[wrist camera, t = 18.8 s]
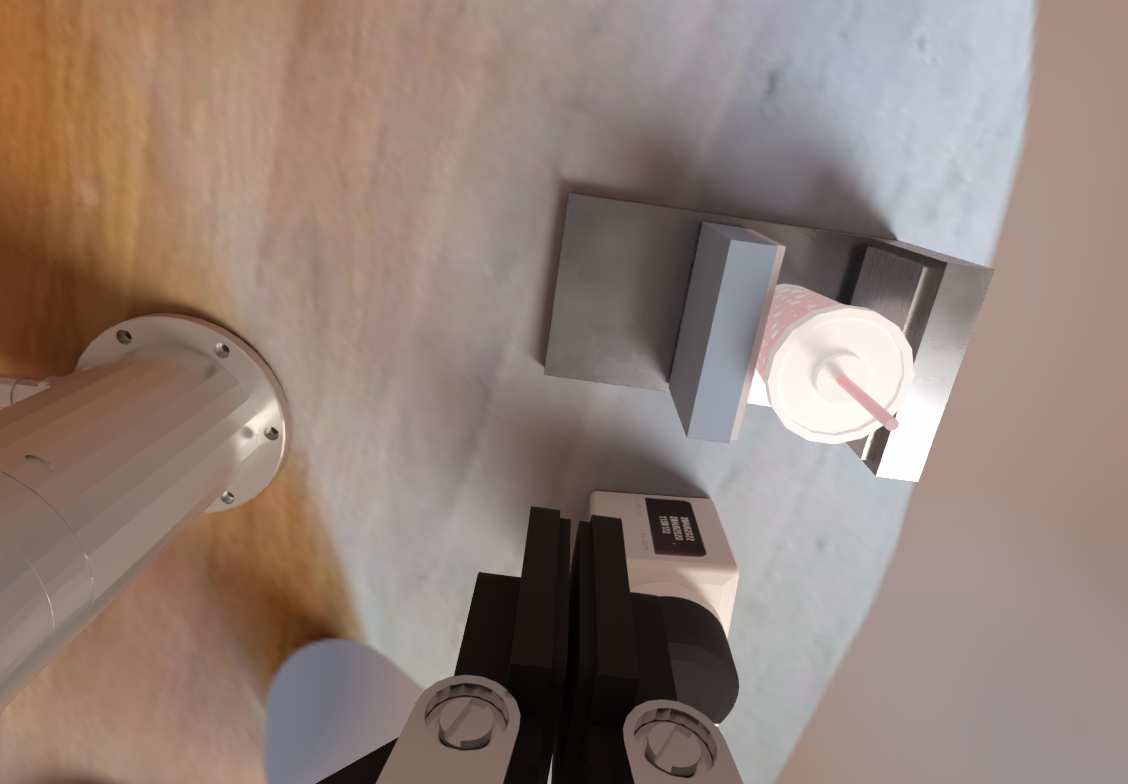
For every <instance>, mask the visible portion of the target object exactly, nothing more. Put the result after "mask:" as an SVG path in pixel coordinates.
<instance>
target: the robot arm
mask: <svg viewBox="0 0 1128 784" xmlns="http://www.w3.org/2000/svg"><path fill="white" fill-rule="evenodd" d="M226 346H227V347H228V348H229V350H228V349H227V348H226ZM0 408H2V409H1V410H0V713H1V712H2V710H3V709H4V708H5V707H6V706H7V705H8V704H9V703H10V702H11V701H12V700H13V699H14V698H15V697H16V696H17V695H18V694H19V693H20V692H21V691H22V690H23V689H24V688H25V687H26V686H27V685H28V684H29V683H30V682H31V681H32V680H33V679H34V678H35V677H36V676H37V675H38V673H39V672H40V671H41V670H42V669H43V668H45V667H46V666H47V665H48V664H49V663H50V662H51V661H52V660H53V659H54V658H55V657H56V656H57V655H58V654H59V653H60V652H61V651H62V650H63V649H64V648H65V647H66V646H67V645H68V644H69V643H70V642H71V641H72V640H73V639H74V638H76V637H77V636H78V635H79V634H80V633H81V632H82V631H83V630H84V629H85V628H86V627H87V626H88V625H89V624H90V623H91V622H92V621H93V620H94V619H95V618H96V617H97V616H98V615H99V614H100V613H101V612H102V611H103V610H104V609H105V608H106V607H107V606H108V605H109V604H110V603H111V602H112V601H113V600H114V599H115V598H116V597H117V596H118V595H119V594H120V593H121V592H123V591H124V590H125V589H126V588H127V587H128V586H129V585H130V584H131V583H132V582H133V581H134V580H135V579H136V578H137V577H138V576H139V575H140V574H141V573H142V572H143V571H144V570H145V569H146V568H147V567H148V566H149V565H150V564H151V563H152V562H153V561H154V560H155V559H156V558H157V557H158V556H159V555H160V554H161V553H162V552H163V551H164V550H165V549H166V548H167V547H168V546H169V545H170V544H171V543H172V542H174V541H175V540H176V539H177V538H178V537H179V536H180V535H181V534H182V533H183V532H184V531H185V530H186V529H187V528H188V527H189V526H190V525H191V524H192V523H193V522H194V521H195V520H196V519H197V518H198V517H199V516H200V515H201V514H205V513H213V512H222V511H225V510H228V509H231V508H234V507H238V506H240V505H242V504H244V503H245V502H247V501H249V500H251V499H253V498H254V497H255V496H256V495H258V494H259V493H260V492H261V491H262V490H263V489H264V488H265V487H267V485H268V484H269V483H270V482H271V481H272V480H273V478H274V477H275V476H276V475H277V474H278V472H279V470H280V468H281V466H282V464H283V463H284V461H285V459H286V455H287V452H288V448H289V444H290V433H291V422H290V416H289V409H288V405H287V402H286V399H285V397H284V394H283V391H282V388H281V386H280V385H279V383H278V381H277V379H276V378H275V376H274V374H273V373H272V371H271V369H270V368H269V367H268V366H267V365H266V363H265V362H264V361H263V360H262V359H261V357H260V356H259V355H258V354H257V353H256V352H255V351H254V350H253V349H252V348H250V347H249V346H248V345H247V344H246V343H245V342H244V341H242V340H241V339H240V338H238V337H237V336H235V335H233V334H232V333H230V332H229V331H227V330H225V329H224V328H222V327H220V326H218V325H215V324H213V323H210V322H208V321H206V320H203V319H200V318H196V317H192V316H187V315H183V314H172V313H155V314H148V315H141V316H138V317H135V318H132V319H129V320H126V321H123V322H121V323H119V324H117V325H115V326H113V327H111V328H109V329H107V330H105V331H103V332H102V333H101V334H100V335H99V336H97V337H96V338H95V339H94V340H93V341H91V342H90V344H89V345H88V346H87V348H86V349H85V351H84V352H83V353H82V355H81V356H80V358H79V360H78V363H77V365H76V368H75V370H74V372H73V373H71V374H69V375H66V376H64V377H62V376H55V375H54V376H48V377H46V378H45V379H43V380H42V381H41V380H33V379H31V378H27V377H22V376H14V375H7V374H0ZM570 527H571V520H570V519H562V518H560V510H554V509H547V508H539V507H532V506H531V511H530V518H529V525H528V532H527V539H526V546H525V553H524V560H523V568H522V575H521V578H520V577H513V576H505V575H498V574H490V573H482V572H479V573H478V576H477V580H476V585H475V589H474V593H473V597H472V602H471V606H470V610H469V614H468V619H467V623H466V627H465V631H464V636H463V640H462V644H461V648H460V653H459V657H458V661H457V665H456V670H455V674H454V676H452V677H449V678H446V679H443V680H441V681H438V682H436V683H435V684H433V685H432V686H430V687H429V688H428V689H426V690H425V691H424V692H423V694H422V695H421V696H420V698H419V699H418V700H417V702H416V704H415V706H414V708H413V710H412V712H411V714H410V716H409V718H408V720H407V722H406V724H405V726H404V728H403V730H402V732H401V734H400V736H399V737H398V738H396V739H394V740H393V741H391V742H389V743H387V744H386V745H384V746H382V747H380V748H378V749H377V750H375V751H373V752H371V753H370V754H368V755H366V756H364V757H363V758H361V759H359V760H357V761H355V762H354V763H352V764H350V765H348V766H346V767H345V768H343V769H341V770H339V771H338V772H336V773H334V774H332V775H330V776H329V777H327V778H325V779H323V780H322V781H320V782H318V783H316V784H547V781H548V776H549V770H550V765H551V759H552V781H551V784H743V782H742V779H741V777H740V775H739V772H738V770H737V767H736V765H735V763H734V760H733V758H732V755H731V753H730V750H729V748H728V746H727V743H726V741H725V739H724V737H723V736H722V734H721V732H720V731H719V729H718V727H717V726H716V725H715V724H714V723H713V722H712V721H711V720H710V719H709V718H708V717H707V716H705V715H704V714H702V713H701V712H699V711H698V710H696V709H694V708H693V707H691V706H688V705H685V704H683V703H680V702H678V700H677V694H676V688H675V683H674V677H673V671H672V666H671V660H670V654H669V649H668V643H667V637H666V632H665V626H664V620H663V615H662V609H661V603H660V600H659V597H658V596H657V595H650V594H643V593H635V592H630V588H629V579H628V570H627V561H626V552H625V544H624V535H623V526H622V519H621V518H614V517H607V516H599V515H592V516H591V519H590V522H585V521H579V525H578V530H577V536H576V542H575V548H574V553H573V559H572V565H571V571H570ZM569 571H570V577H569ZM552 753H553V758H552Z"/></svg>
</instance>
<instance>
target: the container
mask: <svg viewBox="0 0 1128 784" xmlns="http://www.w3.org/2000/svg"><path fill="white" fill-rule="evenodd" d="M592 515H599V516H607V517H614V518H621V519H622V526H623V535H624V544H625V552H626V561H627V570H628V579H629V588H630V592H635V593H643V594H650V595H657V596H658V597H659V600H660V603H661V609H662V615H663V620H664V626H665V632H666V637H667V643H668V649H669V654H670V660H671V666H672V671H673V677H674V683H675V688H676V694H677V700H678V702H680V703H683V704H685V705H688V706H691V707H693V708H694V709H696V710H698V711H699V712H701V713H702V714H704V715H705V716H707V717H708V718H709V719H710V720H711V721H712V722H713V723H714V724H715V725H716V726H718V725H719V724H720V723H721V722H722V721H723V720H724V719H725V718H726V717H727V715H728V714H729V713H730V711H731V710H732V708H733V706H734V704H735V702H736V699H737V696H738V690H739V680H738V675H737V671H736V668H735V664H734V661H733V658H732V654H731V651H730V648H729V644H728V641H727V638H728V633H729V627H730V622H731V617H732V611H733V606H734V600H735V595H736V589H737V584H738V579H739V568H738V565H737V562H736V560H735V557H734V554H733V552H732V549H731V546H730V544H729V541H728V538H727V536H726V533H725V530H724V528H723V525H722V522H721V520H720V517H719V514H718V512H717V509H716V506H715V504H714V502H713V501H712V500H710V499H703V498H688V497H674V496H659V495H645V494H630V493H616V492H601V491H596V492H593V493H592V495H591V497H590V508H589V519H588V522H590V519H591V516H592Z"/></svg>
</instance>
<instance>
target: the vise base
mask: <svg viewBox="0 0 1128 784" xmlns="http://www.w3.org/2000/svg"><path fill="white" fill-rule="evenodd" d="M702 222H708V223H715V224H722V225H729V226H735V227H741V228H744V229H750V230H754V231H756V232H758V233H760V234H762V235H764V236H766V237H768V238H770V239H772V240H774V241H776V242H778V243H780V244H782V245H784V246H786V249H785V253H784V256H783V260H782V264H781V268H780V272H779V276H778V280H777V284H776V285H780V284H790V285H797V286H801V287H804V288H806V289H808V290H811V291H813V292H816V293H818V294H820V295H823V296H825V297H827V298H830V299H832V300H834V301H837V302H839V303H842V304H844V305H850V306H857V307H864V308H868V309H870V310H873V311H875V312H877V313H878V314H880V315H881V316H883V317H885V318H886V319H888V320H889V321H891V322H892V323H894V324H896V325H897V326H899V328H900V330H901V331H902V333H903V335H904V336H905V338H906V340H907V341H908V343H909V345H910V346H911V348H912V355H913V367H914V377H913V380H912V383H911V386H910V389H909V392H908V395H907V398H906V401H905V402H904V403H903V405H902V406H901V407H900V408H899V409H898V411H897V412H896V413H895V414H894V416H893V417H894V418H896V419H897V420H898V422H899V426H898V428H897V429H896V430H894V431H889V430H887V429H886V428H885V427H884V426H882V427H880V428H878V429H877V430H875V431H873V432H872V433H870V434H869V435H867V436H865V437H864V438H861V439H857V440H852V441H847V442H846V443H847V444H848V445H849V446H850V448H851V449H852V450H853V451H854V452H855V453H856V454H857V455H858V456H859V458H860V459H861V460H862V461H863V462H864V463H865V464H866V465H867V467H868V468H869V469H870V470H871V471H872V472H873V473H874V474H875V476H879V477H887V478H894V479H901V480H908V481H916V482H918V480H919V477H920V474H921V472H922V469H923V466H924V463H925V461H926V458H927V455H928V452H929V450H930V447H931V444H932V441H933V438H934V436H935V433H936V430H937V427H938V424H939V422H940V419H941V416H942V414H943V411H944V408H945V405H946V403H947V400H948V397H949V394H950V392H951V389H952V386H953V383H954V380H955V378H956V375H957V372H958V369H959V367H960V364H961V361H962V358H963V356H964V353H965V350H966V347H967V344H968V341H969V339H970V336H971V333H972V331H973V328H974V325H975V322H976V319H977V317H978V314H979V311H980V309H981V306H982V303H983V300H984V298H985V295H986V292H987V289H988V286H989V284H990V281H991V278H992V275H993V273H994V269H991V268H988V267H985V266H981V265H978V264H975V263H971V262H968V261H965V260H962V259H958V258H955V257H952V256H948V255H945V254H942V253H938V252H935V251H932V250H929V249H925V248H922V247H919V246H915V245H912V244H909V243H905V242H902V241H899V240H892V239H886V238H879V237H872V236H865V235H858V234H852V233H845V232H838V231H831V230H824V229H818V228H811V227H804V226H797V225H791V224H784V223H777V222H770V221H763V220H757V219H750V218H743V217H736V216H729V215H723V214H716V213H709V212H702V211H696V210H689V209H682V208H675V207H668V206H662V205H655V204H648V203H641V202H634V201H628V200H621V199H614V198H607V197H600V196H594V195H587V194H580V193H573V192H569V196H568V203H567V210H566V218H565V225H564V232H563V240H562V247H561V254H560V261H559V269H558V276H557V283H556V291H555V298H554V305H553V312H552V320H551V327H550V334H549V342H548V349H547V356H546V363H545V371H544V375H549V376H556V377H563V378H570V379H577V380H585V381H592V382H599V383H606V384H613V385H620V386H628V387H635V388H642V389H649V390H656V391H664V392H670V390H669V388H668V387H669V382H670V377H671V372H672V367H673V362H674V357H675V353H676V348H677V343H678V338H679V333H680V328H681V324H682V319H683V314H684V309H685V304H686V299H687V294H688V290H689V285H690V280H691V275H692V270H693V265H694V260H695V256H696V251H697V246H698V241H699V236H700V231H701V227H702ZM747 403H750V404H757V405H764V406H771V405H770V403H769V401H768V399H767V393H766V387H765V383H764V381H763V379H762V378H761V376H760V374H759V372H758V371H757V369H756V368H755V372H754V376H753V380H752V384H751V388H750V392H749V396H748V400H747Z"/></svg>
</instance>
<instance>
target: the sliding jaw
mask: <svg viewBox="0 0 1128 784" xmlns="http://www.w3.org/2000/svg"><path fill="white" fill-rule="evenodd" d="M785 249H786V246H784V245H782V244H780V243H778V242H776V241H774V240H772V239H770V238H768V237H766V236H764V235H762V234H760V233H758V232H756V231H754V230H750V229H744V228H741V227H735V226H729V225H722V224H715V223H708V222H702V227H701V231H700V236H699V241H698V246H697V251H696V256H695V260H694V265H693V270H692V275H691V280H690V285H689V290H688V294H687V299H686V304H685V309H684V314H683V319H682V324H681V328H680V333H679V338H678V343H677V348H676V353H675V357H674V362H673V367H672V372H671V377H670V382H669V387H668V388H669V390H670V393H671V396H672V398H673V401H674V404H675V407H676V409H677V412H678V415H679V418H680V420H681V423H682V426H683V428H684V431H685V434H686V437H687V438H692V439H699V440H706V441H713V442H721V443H728V444H729V442H730V440H736V441H737V439H738V435H739V431H740V428H741V424H742V420H743V416H744V412H745V408H746V404H747V400H748V396H749V392H750V388H751V384H752V380H753V376H754V372H755V368H756V364H757V360H758V356H759V352H760V348H761V344H762V340H763V336H764V332H765V328H766V324H767V320H768V316H769V312H770V308H771V304H772V300H773V296H774V292H775V288H776V284H777V280H778V276H779V272H780V268H781V264H782V260H783V256H784V253H785Z"/></svg>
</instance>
